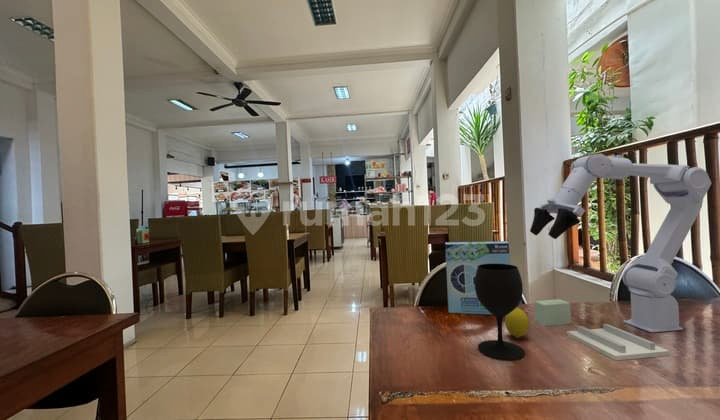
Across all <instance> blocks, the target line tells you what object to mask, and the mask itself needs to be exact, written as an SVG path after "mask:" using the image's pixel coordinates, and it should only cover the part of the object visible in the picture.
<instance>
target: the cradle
mask: <svg viewBox="0 0 720 420" xmlns="http://www.w3.org/2000/svg"><path fill="white" fill-rule="evenodd" d="M602 325H603V326H602V327H601V328H592V329H591V328H590V329H589V328H587V327H585V326H583V325H580V326H577V330H568V331H566V336H567V337H569V338H570V339H571V338H572V339H574V340H575V341H577V342H578V343H580V344H583V345H584V346H587V347H588V348H590V349H593V350H594V351H597V352H598V353H600V354H602V355H604V356H606V357H608V358H609V359H612V360H613V361H626V360H635V359H636V360H637V359H647V358H648V359H649V358H655V357H659V358H660V357H668V356H669V357H670V350H669V349H666V348H664V347H660V346H658V345H656V342H653V341H651V340H649V339H646V338H643V337H641V336H638V335H636V334H633V333H631V332H628V331H626V330H624V329H621V328H618V327H616V326H613V325H612V324H609V323H603V324H602Z"/></svg>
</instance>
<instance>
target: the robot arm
mask: <svg viewBox="0 0 720 420" xmlns="http://www.w3.org/2000/svg"><path fill="white" fill-rule="evenodd" d="M629 176H632V177H638V178H639V177H640V178H649V183H650V184H651V185H652V184H653V188H654V189H655V191H656V192H657V193H658V195H659V196H660V197H661V198H662V199H663V200H664V201H665V203H667V204H669V206H670V208H669V211H668V213H666V216H665V218H664V220H663V222H662V223H661V225H660V227H659V229H658V231H657V232H656V234H655V237H653V240H652V242H651V243H650V246H649V247H648V249H647V251H646V253H645V255H643V256H642V257H639V258H637V259H634V260H633V261H632V263H631V264H630V266H628V267H627V268H625V269H624V271H623V273H622V281H623V284H624V285H625V286H627V288H628V291H629V292H630V308H631V319H626V320H625V319H624V320H623V321H622V322H623V323H625V324H628V325H630V326H633V327H635V328H638V329H640V330H641V329H642V330H643V331H646V332H648V333H660V332H661V333H662V332H671V331H673V332H674V331H682V330H684V328H683V327H681V326H680V314H679V313H680V310H679V303H678V301H677V299H676V298H675V297H674V296H673V295H672V293H673V292H674V290H675V288H676V280H677V278H678V275H679V274H678V272H677V270H676V269H675V268H674V266H672V263H673V261H674V260H675V258H676V256H677V254H678V252H679V251H680V248H681V247H682V245H683V243H684V241H685V239H686V237H687V236H688V233H689V232H690V230H691V228H692V226H693V225H694V224H695V221H696V219H697V217H698V215H699V214H700V212H701V210H702V207H703V202H704V198H705V197H706V194H707V193H708V191H709V189H710V187H711V185H712V180H711V178H710V177H709V174H708V172H707V171H706V170H705V169H704V168H701V167H699V166H697V167H696V166H695V167H691V166H689V165H685V164H684V165H683V164H682V165H681V164H663V163H661V164H660V163H658V164H657V163H632V160H630V159H629V158H626V157H623V155H620V154H617V155H613V156H606V155H605V154H603V153H596V154H595V153H594V154H590V155H586V156H582V157H579V158H577V159H576V160H574V161H572V163H571V165H570V173H569V174H568V176H567V178H566V179H565V181H564V182H563V183H562V185H561V186H560V188H559V189H558V191H557V192H556V193H555V195H554V197H553V198H548V199H547V200H546V202H545V203H541V204H540V205H539V207H535V208H534V214H533V219H532V224H531V226H530V229H529V232H530V233H531V234H533V235H534V236H538V235H539V234H540V233H541V232H542V231H543V229H544V228H545V227H546V226H547V225H548V224H549V223H551V222H553V221H554V222H553V223H552V226H551V227H550V229H549V231H548V236H550V237H551V238H552V239H554V240H556V239H558V238H560V236H561V235H562V234H564V233H565V232H566V231H568V230H569V229H571V228H572V227H574V226H576V225H578V224H580V223H581V220H580V219H579V217H580V218H581V217H582V216H583V214H584V213H585V212H586V210H585V209H584V208H583V207H582V206H580V205H579V204H580V202H581V201H582V199H583V197H585V194H586V193H587V192H588V190H589V189H590V187H591V186H592V185H593V183H594V182H595V180H596V179H597V178H599V179H613V180H624V179H625V180H626V178H628V177H629ZM551 214H556V217H554V216H553V215H551Z"/></svg>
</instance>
